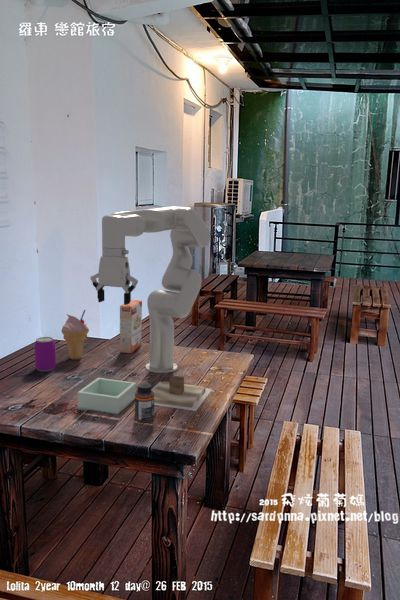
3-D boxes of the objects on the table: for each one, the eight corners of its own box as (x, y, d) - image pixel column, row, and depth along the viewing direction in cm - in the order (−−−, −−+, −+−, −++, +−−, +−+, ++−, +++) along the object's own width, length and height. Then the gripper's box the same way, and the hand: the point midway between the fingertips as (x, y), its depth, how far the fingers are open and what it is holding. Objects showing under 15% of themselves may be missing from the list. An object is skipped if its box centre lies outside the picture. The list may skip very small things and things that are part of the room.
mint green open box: (98, 394, 181) (98, 377, 180) (136, 399, 177) (136, 382, 176) (78, 409, 168) (77, 392, 166) (118, 416, 164) (118, 398, 163)
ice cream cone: (75, 352, 226) (74, 306, 221) (94, 356, 220) (94, 310, 216) (56, 358, 216) (55, 311, 212) (76, 363, 211) (75, 315, 207)
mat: (159, 383, 192) (159, 381, 192) (212, 390, 187) (212, 389, 187) (138, 403, 174) (138, 402, 173) (195, 412, 168) (195, 410, 168)
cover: (162, 384, 190) (163, 368, 189) (205, 390, 185) (205, 373, 184) (146, 400, 175) (146, 383, 174) (191, 407, 170) (192, 389, 169)
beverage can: (52, 372, 201) (51, 342, 198) (32, 371, 201) (31, 341, 198) (58, 365, 208) (57, 336, 206) (39, 365, 208) (38, 336, 206)
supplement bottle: (135, 415, 165) (135, 381, 162) (154, 415, 165) (154, 381, 163) (134, 424, 159) (134, 388, 156) (154, 423, 159) (154, 388, 157)
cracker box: (132, 354, 225) (132, 306, 221) (119, 352, 227) (118, 305, 222) (142, 345, 239) (142, 300, 235) (129, 343, 240) (129, 299, 236)
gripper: (142, 253, 176) (141, 303, 179) (96, 250, 181) (96, 298, 185) (132, 255, 169) (132, 307, 172) (84, 252, 174) (85, 302, 178)
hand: (114, 302), depth 179 cm, fingers open, 9 cm apart
